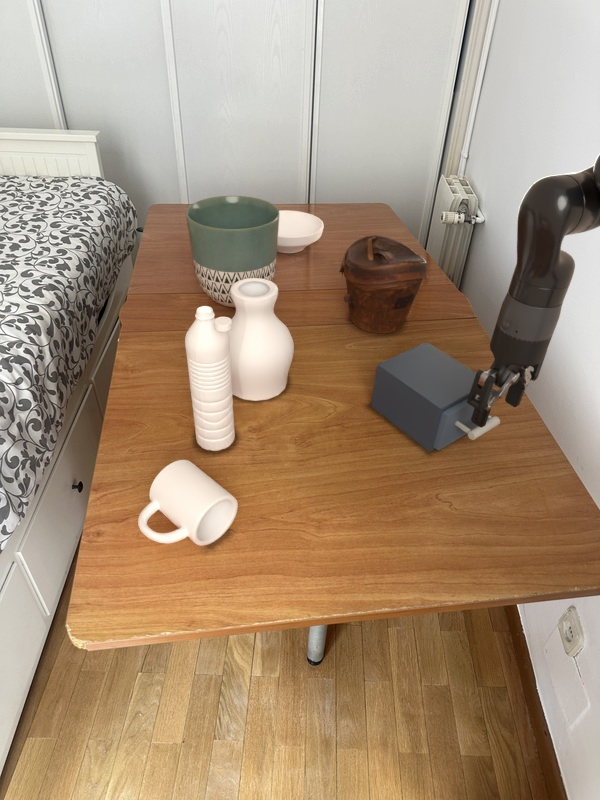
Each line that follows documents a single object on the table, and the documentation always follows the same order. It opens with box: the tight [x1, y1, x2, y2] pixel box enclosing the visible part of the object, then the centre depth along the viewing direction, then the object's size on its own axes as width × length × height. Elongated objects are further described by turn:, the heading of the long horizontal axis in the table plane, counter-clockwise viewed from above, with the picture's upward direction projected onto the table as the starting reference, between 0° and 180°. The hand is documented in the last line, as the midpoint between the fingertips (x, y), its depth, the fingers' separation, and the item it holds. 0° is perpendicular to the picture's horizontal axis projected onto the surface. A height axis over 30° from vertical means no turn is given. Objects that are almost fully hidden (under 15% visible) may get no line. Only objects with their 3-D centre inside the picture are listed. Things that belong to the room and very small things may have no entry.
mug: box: [137, 459, 239, 547], centre depth 74 cm, size 12×10×8 cm
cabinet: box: [370, 341, 477, 453], centre depth 95 cm, size 15×13×10 cm
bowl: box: [277, 209, 325, 254], centre depth 151 cm, size 20×20×7 cm
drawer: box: [433, 393, 501, 452], centre depth 93 cm, size 18×11×8 cm, turn 37°
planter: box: [185, 195, 280, 308], centre depth 121 cm, size 20×20×21 cm
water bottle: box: [184, 305, 236, 452], centre depth 83 cm, size 9×6×25 cm
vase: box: [225, 278, 295, 402], centre depth 98 cm, size 14×14×20 cm
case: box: [338, 234, 429, 334], centre depth 118 cm, size 18×20×18 cm
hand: (495, 413), depth 84 cm, fingers open, 8 cm apart
